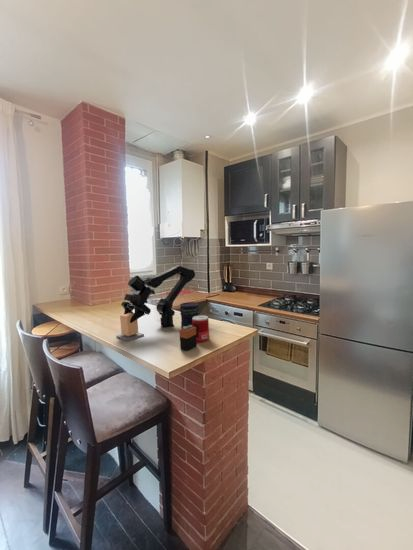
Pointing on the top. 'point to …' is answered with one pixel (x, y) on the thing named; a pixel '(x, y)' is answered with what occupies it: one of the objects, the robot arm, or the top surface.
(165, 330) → the top surface
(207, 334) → the canned food
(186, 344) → the battery
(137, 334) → the peg stand
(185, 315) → the storage jar
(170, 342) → the top surface
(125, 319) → the wooden block
